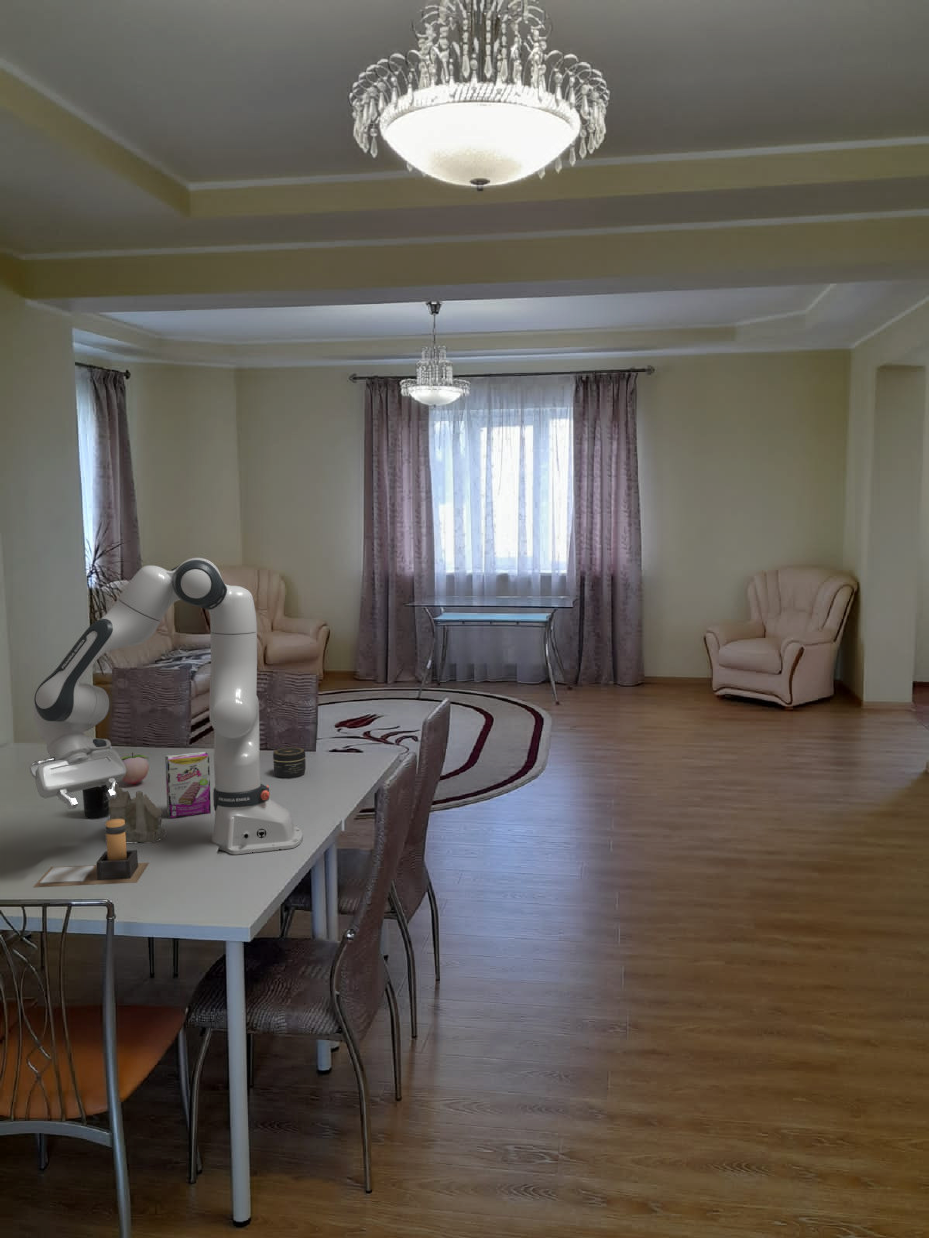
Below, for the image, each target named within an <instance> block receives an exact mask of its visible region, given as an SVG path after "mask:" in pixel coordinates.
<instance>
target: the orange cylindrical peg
mask: <svg viewBox="0 0 929 1238" xmlns="http://www.w3.org/2000/svg"><path fill="white" fill-rule="evenodd" d="M105 836H106V837H107V841H106V851H107V854H108V861H116V860H127V853H126V850H127V843H126V836H125V820H124V819H112V820H108V819H107V821H106V822H105Z"/></svg>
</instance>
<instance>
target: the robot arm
mask: <svg viewBox="0 0 929 1238" xmlns="http://www.w3.org/2000/svg"><path fill="white" fill-rule="evenodd" d="M178 601H183V602H184V603H186V604H187V605H191V606H194V607H198V608H202V609H205V610H208V613H209V622H210V626H209V627H210V632H209V633H210V672H209V673H210V674H209V677H210V678H209V708H208V710H209V712H208V717H209V722H210V724H211V726H212V729H213V730H214V731H213V733H214V735H213V736H214V741H213V769H214V770H213V771H214V788H213V792H212V801H213V802H212V803H213V808H214V811H215V813H214V826H213V833H212V837H211V841H212V842H213V843H215V844H217V845H219V847H218V849H217V850H218V851H219V850H220V851H223V852H227V853H228V854H231V855H242V854H251V853H252V852H253V853H260V852H270V851H280V850H279V849H281V850H287V849H288V850H289V849H294V848H296V847H297V846H300V844H302V841H303V839H304V834H303V830H302V829H301V828H300V827H298V826H294V821H293V818H292V817H293V816H292V815H291V812H290V811H289V810H288V809H286V808H284V807H283V806H281V805H280V804H279V803H277V802H275V801H274V800H272V799H271V798H270V794H271V793H270V787H269V785H268V784H267V785H264V784H263V783H261V760H260V757H261V756H260V702H259V697H258V696H257V690H258V689H257V684H258V683H257V681H258V679H257V678H258V677H257V676H258V623H257V611H256V606H255V600H254V597H253V595H252V593H251V591H250V590H248V589H246V588H245V587H243V586H239V585H229V584H226V583H225V582H224V580H223V577H222V575H221V572H220V570H219V568H218V567H217V565H216V564H215V563H213V562H212V561H211V560H209V559H208V558H207V559H206V558H204V557H203V558H202V557H192V558H188V559H186V560H185V561H183V562H182V563H181V564H179V565H177V566H176V567H173V568H172V569H171V570H167V569H166V568H163V567H161V566H158V565H145V566H142V567H141V568H140V569H139V570H138V571H137V572H136V573H135V574H134V575H133V577H132V578H131V579H130V581H129V582H128V583H127V585H126V586H125V588H124V589H123V591H122V592H121V594H120V595H119V596H118V598H117V600H116V601H115V603H114V605H113V606H112V607H110V609H109V610H108V612H107V613H105V614H104V615H103V616H102V617H101V618H99V619H98V620H96V621H94V622H93V623H91V624H90V626H88V627H87V629H86V630H85V631H84V632H83V634H82V635H81V636H80V637H79V639H78V640H77V641H76V643H75V644H74V645H73V646H72V648H71V649H70V650H69V651H68V653H67V654H66V656H65V657H64V658H63V659H62V660H61V662H60V664H59V665H58V666H57V668H56V669H55V670H54V671H52V673H51V674H50V675H48V676H47V677H46V678H45V679H44V680H43V681H42V682H41V683H40V685H39V686H38V687H37V689H36V691H35V694H34V704H33V707H32V714H33V715H32V716H33V720H34V723H35V727H36V729H37V731H38V734H39V735H40V738H41V739H42V740H43V741H44V743H45V745H46V751H47V753H48V755H49V758H44V759H41V760H40V759H39V760H35V761H34V762H33V763H32V764H30V766H29V772H30V774H31V776H32V777H33V778H34V782H35V786H36V789H37V792H38V796H39V797H41V798H42V799H43V798H44V799H48V798H53V797H54V798H55V797H58V800H60V801H61V802H63V803H64V804H66V805H67V808H68V810H73V809H77V807H78V802H77V799H76V798H75V797H74V798H72V797H70V796H69V795H68V794H70V793H74V792H79V791H82V790H84V789H88V788H93V787H97V786H101V785H106V786H107V787H109V790H108V792H107V793H106V796H107V797H108V800H111V799H115V798H116V796H117V795H116V792H115V790H114V789H115V783H119V782H121V781H123V780H122V779H123V778H124V776H125V774H126V767H125V765H124V763H123V761H122V759H121V758H122V757H121V756H120V755H119V753H118V752H117V750H115V749H113V748H111V747H112V743H111V741H110V740H109V739H107V738H97V737H96V738H95V737H90V736H86V735H85V732H86V731H88V730H91V729H92V728H94V727H96V726H97V725H99V724H100V723H101V722H102V721H104V720H105V719H106V717H107V716H108V714H109V712H110V709H111V701H110V696H109V694H108V692H107V691H106V690H105V689H104V688H103V687H102V686H101V687H100V686H97V685H93V684H89V683H83V682H82V680H83V679H84V678H85V676H86V675H87V674H88V672H89V671H90V670H91V668H92V667H93V666H94V664H95V663H96V662H97V661H98V659H99V658H100V657H101V656H103V655H104V654H106V653H108V652H109V651H112V650H116V649H120V648H127V647H135V646H138V645H141V644H144V643H145V642H147V641H148V640H149V639H150V638H151V637H152V636H153V635H154V633H155V632H156V630H157V629H158V628H159V626H160V624H161V622H162V620H163V618H164V617H165V615H166V614H167V611H168V610H169V608H170V607H171V606H172V605H173V604H174V603H176V602H178Z"/></svg>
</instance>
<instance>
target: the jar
mask: <svg viewBox="0 0 929 1238" xmlns="http://www.w3.org/2000/svg"><path fill="white" fill-rule="evenodd" d="M306 758H307V757H306V751H305V749H304V748H302V747H282V748H279V749H276V750H274V751H273V752H272V760H273V762H272V763H273V772H274V775H275V777H277V778H278V777H279V779H284V780H285V779H288V780H289V779H296V778H299V777H300V778H301V777H302V776H304V774H306V770H307V769H306V764H307V763H306Z"/></svg>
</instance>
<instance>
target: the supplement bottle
mask: <svg viewBox="0 0 929 1238" xmlns="http://www.w3.org/2000/svg"><path fill="white" fill-rule="evenodd" d="M108 790H110V787H107V786H106V785H101V786H97V787H93V788H88V789H84V790H81V791H82V801H83V814H84V817H85V819H91V820H97V819H102V818H103V819H104V818H105V817H107V816H110V814H109V813H108V812H109V800H108V797H107V796H106V793H107V792H108Z"/></svg>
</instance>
